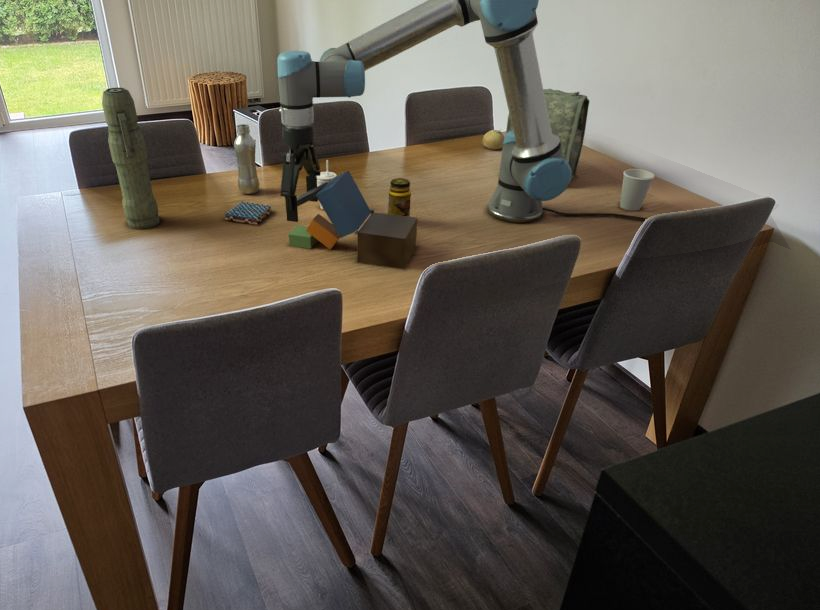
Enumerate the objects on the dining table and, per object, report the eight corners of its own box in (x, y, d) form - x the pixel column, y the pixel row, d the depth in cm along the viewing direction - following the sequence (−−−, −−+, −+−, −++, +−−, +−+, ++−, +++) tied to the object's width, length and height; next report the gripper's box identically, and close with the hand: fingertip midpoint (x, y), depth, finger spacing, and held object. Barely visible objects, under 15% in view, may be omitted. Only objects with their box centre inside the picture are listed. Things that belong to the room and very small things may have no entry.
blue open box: (347, 168, 152) (304, 191, 159) (331, 185, 142) (286, 208, 150) (371, 212, 156) (327, 232, 163) (357, 230, 147) (311, 251, 154)
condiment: (407, 229, 167) (409, 186, 160) (377, 225, 169) (378, 183, 162) (413, 218, 173) (415, 177, 166) (384, 215, 175) (385, 174, 168)
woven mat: (223, 220, 172) (222, 214, 171) (241, 207, 180) (240, 200, 179) (256, 226, 169) (255, 219, 168) (273, 211, 177) (272, 205, 176)
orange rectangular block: (311, 224, 159) (335, 243, 160) (305, 230, 156) (330, 249, 157) (318, 213, 157) (343, 232, 158) (312, 219, 154) (338, 238, 154)
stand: (416, 245, 159) (418, 214, 154) (402, 270, 148) (404, 237, 143) (370, 239, 162) (371, 208, 157) (353, 262, 151) (353, 230, 146)
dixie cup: (649, 206, 180) (659, 173, 174) (638, 214, 175) (648, 180, 170) (622, 199, 185) (630, 166, 179) (610, 207, 180) (618, 173, 174)
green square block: (297, 236, 164) (318, 239, 162) (289, 245, 159) (310, 248, 157) (297, 225, 162) (318, 227, 160) (288, 234, 157) (310, 237, 156)
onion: (481, 151, 223) (484, 131, 219) (481, 144, 230) (484, 125, 225) (504, 152, 222) (506, 132, 218) (503, 145, 228) (506, 126, 224)
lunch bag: (578, 174, 203) (597, 86, 187) (563, 189, 191) (582, 97, 176) (513, 162, 212) (526, 78, 196) (496, 176, 201) (508, 88, 185)
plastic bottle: (234, 194, 188) (226, 127, 177) (245, 187, 193) (239, 122, 182) (253, 197, 186) (246, 130, 175) (263, 190, 191) (258, 124, 180)
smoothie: (334, 212, 177) (333, 164, 169) (313, 210, 178) (311, 163, 170) (339, 204, 182) (339, 157, 174) (318, 202, 183) (317, 155, 175)
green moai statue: (154, 212, 177) (128, 82, 157) (165, 226, 168) (139, 92, 148) (122, 218, 173) (92, 86, 153) (132, 233, 165) (101, 96, 145)
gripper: (302, 110, 154) (307, 191, 166) (260, 138, 134) (269, 228, 147) (330, 112, 152) (333, 194, 164) (291, 141, 133) (297, 232, 145)
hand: (302, 210), depth 155 cm, fingers open, 13 cm apart
